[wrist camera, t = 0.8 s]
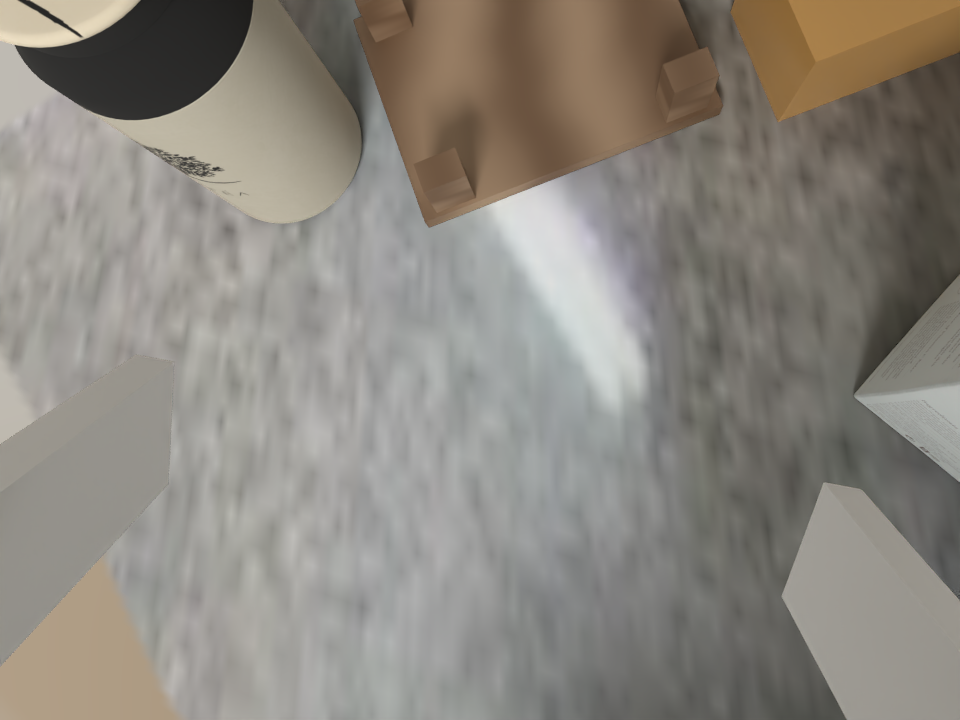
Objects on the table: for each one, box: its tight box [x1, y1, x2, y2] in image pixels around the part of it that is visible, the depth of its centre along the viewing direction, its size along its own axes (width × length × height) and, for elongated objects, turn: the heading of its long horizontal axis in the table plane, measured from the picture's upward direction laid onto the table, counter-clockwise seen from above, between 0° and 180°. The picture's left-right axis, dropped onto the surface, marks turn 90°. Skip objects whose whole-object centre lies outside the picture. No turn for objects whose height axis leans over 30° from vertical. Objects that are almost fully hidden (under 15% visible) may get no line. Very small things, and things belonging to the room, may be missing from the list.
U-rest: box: [353, 0, 723, 227], centre depth 36 cm, size 15×11×4 cm
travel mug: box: [0, 0, 362, 223], centre depth 30 cm, size 8×8×18 cm
